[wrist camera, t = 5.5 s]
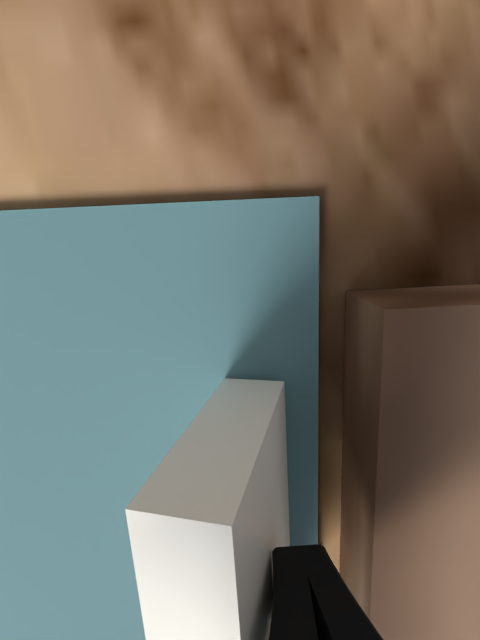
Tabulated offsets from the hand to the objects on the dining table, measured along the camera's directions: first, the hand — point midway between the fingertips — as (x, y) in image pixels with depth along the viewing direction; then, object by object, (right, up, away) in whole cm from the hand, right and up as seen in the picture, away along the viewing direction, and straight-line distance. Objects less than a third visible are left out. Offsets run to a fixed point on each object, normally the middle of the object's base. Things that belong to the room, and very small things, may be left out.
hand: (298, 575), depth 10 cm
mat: (-8, +1, +4) cm, 9 cm away
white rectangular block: (-1, 0, 0) cm, 1 cm away
